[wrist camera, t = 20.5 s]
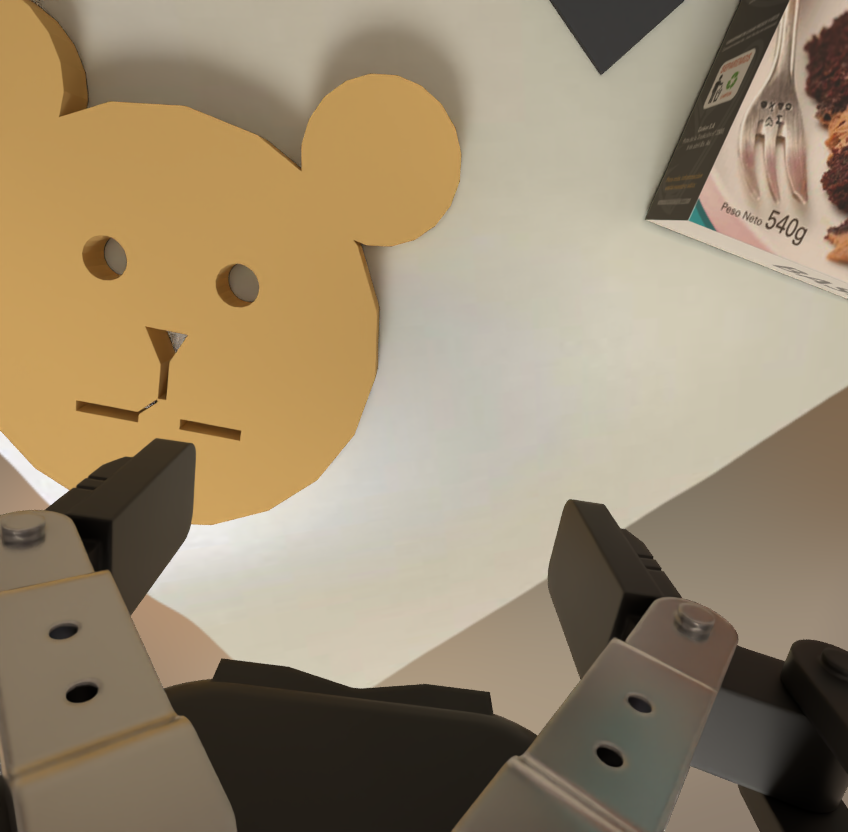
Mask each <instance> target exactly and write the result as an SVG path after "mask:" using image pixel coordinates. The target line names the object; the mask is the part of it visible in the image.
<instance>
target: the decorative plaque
mask: <svg viewBox="0 0 848 832" xmlns="http://www.w3.org/2000/svg"><path fill="white" fill-rule="evenodd" d="M87 104H88V94H87V84H86V75H85V71H84V68H83V66H82V63H81V60H80V58H79V55H78V53H77V50H76V48H75V45H74V44H73V43H72V41H71V40H70V38H69V37H68V36H67V34H66V33H65V32H64V30H63V29H62V27H61V26H60V25H59V23H58V22H57V21H56V20H55V19H53V18H52V17H51V16H50V15H49V14H47V13H46V12H45V11H44V10H42V9H41V8H40V7H39V6H37V5H36V4H35V3H33V2H32V1H30V0H0V431H1V432H2V433H3V434H4V435H5V436H6V437H7V438H8V439H9V440H10V442H11V443H12V444H13V445H14V446H15V447H16V448H17V449H18V450H19V451H20V452H21V453H22V455H23V456H24V457H25V458H26V459H27V460H28V461H29V462H30V463H31V464H32V465H33V466H34V468H36V469H37V470H39V471H40V472H42V473H43V474H45V475H47V476H48V477H50V478H51V479H53V480H54V481H56V482H58V483H59V484H61V485H62V486H64V487H65V488H67V489H69V490H71V489H72V488H76V485H77V484H79V483H80V482H81V481H82V480H84V479H85V478H88V476H89V475H90V474H91V473H93V472H94V471H95V470H96V469H98V468H99V467H100V466H102V465H103V464H106V463H108V462H111V461H114V460H117V459H119V458H122V457H125V456H127V457H134V456H135V455H136V454H137V453H138V452H140V451H141V450H142V449H143V448H144V447H146V446H147V445H148V444H149V443H150V442H151V441H153V440H154V439H155V438H161V439H167V440H174V441H181V442H188V443H193V444H194V446H195V449H196V467H195V486H194V504H193V516H192V522H191V524H198V525H213V524H217V523H221V522H225V521H229V520H233V519H237V518H241V517H245V516H249V515H253V514H257V513H261V512H265V511H268V510H270V509H272V508H273V507H275V506H276V505H278V504H280V503H281V502H283V501H284V500H286V499H288V498H289V497H291V496H292V495H294V494H296V493H297V492H299V491H300V490H302V489H304V488H305V487H307V486H308V485H310V484H312V483H313V482H315V481H316V480H318V478H319V477H320V476H321V475H322V474H323V472H324V471H325V470H326V469H327V468H328V466H329V465H330V464H331V463H332V461H333V460H334V459H335V458H336V457H337V455H338V454H339V453H340V452H341V450H342V449H343V448H344V447H345V446H346V444H347V443H348V442H349V441H350V439H351V438H352V437H353V436H354V434H355V431H356V429H357V426H358V423H359V421H360V418H361V415H362V412H363V410H364V407H365V404H366V402H367V399H368V396H369V393H370V391H371V388H372V385H373V383H374V380H375V377H376V373H377V369H378V339H379V304H378V301H377V297H376V294H375V290H374V287H373V283H372V280H371V276H370V273H369V269H368V266H367V263H366V259H365V256H364V252H363V249H362V245H361V243H362V244H365V245H372V246H395V245H398V244H402V243H405V242H409V241H412V240H415V239H417V238H418V237H419V236H421V235H422V234H424V233H425V232H427V231H428V230H430V229H431V228H433V227H434V226H435V225H436V224H437V223H438V221H439V220H440V219H441V217H442V216H443V215H444V214H445V212H446V211H447V210H448V208H449V207H450V206H451V203H452V200H453V198H454V195H455V192H456V190H457V187H458V184H459V182H460V167H461V151H460V147H459V142H458V138H457V134H456V129H455V127H454V125H453V123H452V121H451V120H450V118H449V116H448V114H447V113H446V111H445V109H444V108H443V106H442V104H441V103H440V102H439V101H438V100H437V99H435V98H434V97H433V96H432V95H431V94H430V93H429V92H428V91H427V90H425V89H424V88H423V87H422V86H421V85H418V84H416V83H414V82H411V81H409V80H407V79H405V78H402V77H400V76H398V75H385V74H368V75H364V76H361V77H358V78H354V79H351V80H348V81H345V82H344V83H342V84H341V85H340V86H338V87H337V88H336V89H334V90H333V91H332V92H330V93H329V94H328V95H326V96H325V97H324V98H323V100H322V101H321V102H320V104H319V105H318V107H317V108H316V110H315V111H314V113H313V114H312V116H311V117H310V119H309V121H308V124H307V128H306V131H305V135H304V138H303V141H302V145H301V163H302V169H301V168H300V167H299V166H298V165H297V164H295V163H294V162H293V161H292V160H291V159H289V158H288V157H287V156H286V155H285V154H283V153H282V152H281V151H280V150H279V149H277V148H276V147H275V146H274V145H272V144H271V143H270V142H269V141H268V140H266V139H264V138H262V137H260V136H258V135H256V134H254V133H251V132H249V131H246V130H244V129H241V128H239V127H236V126H234V125H231V124H229V123H226V122H224V121H221V120H219V119H217V118H214V117H212V116H209V115H207V114H204V113H202V112H199V111H197V110H194V109H192V108H189V107H187V106H179V105H162V104H145V103H128V102H111V101H110V102H107V103H104V104H100V105H97V106H94V107H91V108H87ZM110 238H113V239H115V240H116V241H117V242H119V243H120V245H121V246H122V247H123V249H124V251H125V253H126V257H127V265H126V270H125V271H124V273H123V274H122V275H118V274H116V273H115V272H114V271H112V270H111V269H110V267H109V266H108V265H107V263H106V261H105V258H104V247H105V244H106V242H107V241H108V239H110ZM236 264H242V265H244V266H247V267H248V268H249V269H251V270H252V271H253V272H254V274H255V275H256V277H257V279H258V282H259V293H258V296H257V298H256V299H255V301H254V302H246V301H243V300H240V299H239V298H238V297H236V296H235V295H234V294H233V292H232V291H231V289H230V286H229V283H228V276H229V273H230V270H231V269H232V268H233V266H234V265H236ZM167 331H171V332H176V333H181V334H186V335H188V336H187V337H186V339H185V340H184V342H183V343H182V345H181V346H180V348H179V349H178V351H177V352H176V353H175V351H174V349H173V346H172V344H171V341H170V339H169V336H168V334H167ZM155 400H156V401H155ZM154 401H155V404H154V405H152V406H151V407H149V408H148V409H145V408H144V407H146V406H148V405H149V404H151V403H152V402H154Z"/></svg>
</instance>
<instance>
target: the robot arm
mask: <svg viewBox="0 0 848 832" xmlns="http://www.w3.org/2000/svg"><path fill="white" fill-rule="evenodd" d="M195 467H196V449H195V446H194V444H193V443H188V442H181V441H174V440H167V439H161V438H155V439H154V440H153V441H151V442H150V443H149V444H148V445H147V446H146V447H144V448H143V449H142V450H141V451H140V452H138V453H137V454H136V455H135V456H134V457H127V456H125V457H122V458H119V459H117V460H114V461H111V462H108V463H106V464H103V465H102V466H100V467H99V468H98V469H96V470H95V471H94V472H93V473H91V474H90V475H89V476H88V478H85V479H84V480H82V481H81V482H80V483H79V484H77V485H76V488H72V489H71V490H70V491H68V492H67V493H66V494H64V495H63V496H62V497H61V498H59V499H58V500H57V501H56V502H54V503H53V504H52V505H50V506H49V507H48V508H47V509H46V510H26V511H17V512H11V513H6V514H3V515H0V832H665V830H666V827H667V825H668V822H669V820H670V817H671V815H672V812H673V809H674V807H675V804H676V802H677V799H678V797H679V794H680V792H681V789H682V787H683V784H684V781H685V779H686V776H687V773H688V771H689V768H690V766H691V767H694V768H697V769H699V770H702V771H705V772H707V773H710V774H712V775H715V776H718V777H720V778H723V779H725V780H728V781H731V782H733V783H736V784H738V788H739V790H740V793H741V795H742V797H743V799H744V801H745V803H746V805H747V807H748V809H749V810H750V813H751V815H752V817H753V819H754V821H755V823H756V825H757V827H758V828H759V831H760V832H848V808H847V807H846V805H845V804H844V802H843V801H842V797H843V795H844V793H845V791H846V789H847V787H848V651H845V650H843V649H841V648H839V647H836V646H834V645H831V644H828V643H824V642H820V641H816V640H799V641H796V642H794V643H793V644H792V646H791V649H790V651H789V654H788V656H787V659H786V661H782V660H779V659H776V658H773V657H770V656H767V655H764V654H761V653H757V652H755V651H751V650H748V649H746V648H742V647H740V646H738V645H737V644H738V634H737V632H736V630H735V629H734V628H733V626H732V625H731V624H730V623H729V622H728V621H727V620H726V619H724V618H723V617H722V616H721V615H719V614H717V613H716V612H715V611H713V610H711V609H709V608H707V607H705V606H703V605H701V604H698V603H696V602H693V601H690V600H687V599H683V598H682V597H681V595H680V594H679V593H678V591H677V590H676V588H675V587H674V586H673V584H672V583H671V581H670V580H669V578H668V577H667V576H666V574H665V573H664V572H663V571H661V567H660V566H659V564H658V563H657V562H656V560H654V559H653V556H652V554H651V553H650V552H649V550H648V549H647V547H646V546H645V544H644V543H643V542H642V541H640V540H639V539H638V538H636V537H635V536H634V535H632V534H631V533H630V532H628V531H627V530H626V529H620V527H619V526H618V524H617V523H616V521H615V520H614V518H613V517H612V515H611V514H610V512H609V511H608V509H607V508H606V506H605V505H604V504H599V503H592V502H585V501H579V500H572V499H570V500H568V501H567V502H566V504H565V506H564V509H563V512H562V516H561V520H560V524H559V528H558V531H557V535H556V539H555V543H554V547H553V551H552V555H551V559H550V563H549V568H548V588H549V592H550V595H551V598H552V601H553V604H554V607H555V609H556V612H557V615H558V617H559V621H560V623H561V626H562V629H563V632H564V634H565V637H566V640H567V643H568V646H569V648H570V651H571V654H572V657H573V660H574V662H575V665H576V668H577V671H578V674H579V676H580V679H581V680H580V681H579V683H578V684H577V685H576V687H575V688H574V689H573V690H572V692H571V693H570V694H569V696H568V697H567V699H566V700H565V701H564V702H563V704H562V705H561V706H560V707H559V709H558V710H557V711H556V713H555V714H554V715H553V717H552V718H551V719H550V720H549V722H548V723H547V724H546V726H545V727H544V728H543V730H542V731H541V732H540V733H539V735H538V736H537V735H536V734H534V733H533V732H531V731H530V730H528V729H526V728H524V727H522V726H520V725H519V724H517V723H515V722H513V721H510V720H508V719H506V718H503V717H501V716H498V715H495V714H493V710H492V703H491V697H490V692H484V691H476V690H469V689H460V688H453V687H444V686H437V685H429V684H419V685H406V686H392V687H379V688H364V689H358V688H352V687H348V686H345V685H342V684H339V683H336V682H333V681H330V680H327V679H324V678H321V677H318V676H315V675H312V674H309V673H306V672H303V671H300V670H296V669H293V668H290V667H285V666H277V665H269V664H261V663H253V662H245V661H237V660H229V659H221V661H220V663H219V665H218V668H217V670H216V672H215V675H214V677H213V679H207V680H199V681H194V682H187V683H182V684H178V685H174V686H171V687H167V688H163V686H162V684H161V682H160V679H159V677H158V675H157V673H156V671H155V668H154V667H153V664H152V662H151V660H150V657H149V655H148V653H147V651H146V649H145V646H144V644H143V642H142V640H141V638H140V636H139V633H138V631H137V629H136V627H135V625H134V622H133V620H132V618H131V614H132V613H133V612H134V610H135V609H136V608H137V606H138V605H139V603H140V602H141V601H142V599H143V598H144V596H145V595H146V594H147V592H148V591H149V590H150V588H151V587H152V585H153V584H154V583H155V581H156V580H157V578H158V577H159V576H160V574H161V573H162V571H163V570H164V569H165V567H166V566H167V565H168V563H169V562H170V560H171V559H172V558H173V556H174V555H175V553H176V552H177V551H178V549H179V548H180V546H181V545H182V544H183V542H184V541H185V539H186V537H187V535H188V532H189V529H190V526H191V522H192V516H193V504H194V486H195Z"/></svg>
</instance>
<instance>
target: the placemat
mask: <svg viewBox="0 0 848 832" xmlns="http://www.w3.org/2000/svg"><path fill="white" fill-rule="evenodd" d="M550 1H551V3H552V4H553V6H554V7H555V9H556V10H557V12H558V13H559V15H560V16H561V18H562V19H563V20H564V22H565V23H566V25H567V26H568V28H569V29H570V31H571V32H572V34H573V35H574V37H575V38H576V40H577V41H578V43H579V44H580V45H581V47H582V48H583V50H584V51H585V53H586V54H587V56H588V57H589V59H590V60H591V62H592V63H593V65H594V66H595V67H596V69H597V70H598V72H599V73H600V75H602V74H603V73H604V72H605V71H606V70H607V69H608V68H610V67H611V66H612V65H613V64H614V63H615V62H616V61H617V60H618V59H620V58H621V57H622V56H623V55H624V54H625V53H626V52H627V51H628V50H630V49H631V48H632V47H633V46H634V45H635V44H636V43H637V42H639V41H640V40H641V39H642V38H643V37H644V36H645V35H646V34H647V33H649V32H650V31H651V30H652V29H653V28H654V27H655V26H656V25H658V24H659V23H660V22H661V21H662V20H663V19H664V18H665V17H666V16H668V15H669V14H670V13H671V12H672V11H673V10H674V9H675V8H676V7H678V6H679V5H680V4H681V3H682V2H683V1H684V0H550Z"/></svg>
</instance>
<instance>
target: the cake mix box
mask: <svg viewBox="0 0 848 832" xmlns="http://www.w3.org/2000/svg"><path fill="white" fill-rule="evenodd" d="M645 220H647V221H650V222H652V223H655V224H657V225H660V226H663V227H665V228H668V229H670V230H673V231H675V232H678V233H680V234H683V235H685V236H688V237H691V238H693V239H696V240H698V241H701V242H703V243H706V244H708V245H711V246H714V247H716V248H719V249H721V250H724V251H726V252H729V253H731V254H734V255H737V256H739V257H742V258H744V259H747V260H749V261H752V262H754V263H757V264H760V265H762V266H765V267H767V268H770V269H772V270H775V271H777V272H780V273H783V274H785V275H788V276H790V277H793V278H795V279H798V280H800V281H803V282H805V283H808V284H811V285H813V286H816V287H818V288H821V289H823V290H826V291H828V292H831V293H834V294H836V295H839V296H841V297H844V298H846V299H848V0H741V3H740V5H739V7H738V9H737V12H736V14H735V16H734V18H733V21H732V23H731V25H730V27H729V30H728V32H727V34H726V37H725V39H724V41H723V43H722V46H721V48H720V50H719V52H718V55H717V57H716V59H715V61H714V64H713V66H712V68H711V71H710V73H709V75H708V77H707V80H706V82H705V84H704V86H703V89H702V91H701V93H700V96H699V98H698V100H697V102H696V105H695V107H694V109H693V111H692V114H691V116H690V118H689V120H688V123H687V125H686V127H685V130H684V132H683V134H682V136H681V139H680V141H679V143H678V145H677V148H676V150H675V152H674V154H673V157H672V159H671V161H670V164H669V166H668V168H667V170H666V173H665V175H664V177H663V179H662V182H661V184H660V186H659V188H658V191H657V193H656V195H655V198H654V200H653V202H652V204H651V207H650V209H649V211H648V213H647V216H646V218H645Z"/></svg>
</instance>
